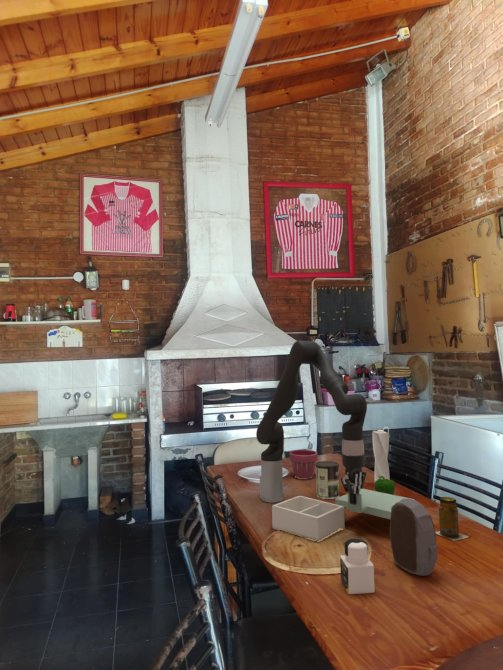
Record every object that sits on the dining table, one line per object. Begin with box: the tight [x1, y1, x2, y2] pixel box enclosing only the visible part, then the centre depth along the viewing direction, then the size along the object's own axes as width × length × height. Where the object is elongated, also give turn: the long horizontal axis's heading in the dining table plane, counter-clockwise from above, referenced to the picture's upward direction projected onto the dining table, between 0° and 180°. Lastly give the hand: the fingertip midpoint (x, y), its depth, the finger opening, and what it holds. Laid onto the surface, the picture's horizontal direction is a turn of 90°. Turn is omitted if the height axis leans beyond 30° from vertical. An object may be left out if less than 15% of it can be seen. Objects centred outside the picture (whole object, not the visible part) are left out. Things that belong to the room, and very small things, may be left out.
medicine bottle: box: [339, 538, 375, 595], centre depth 123 cm, size 7×7×12 cm
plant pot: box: [289, 449, 318, 478], centre depth 235 cm, size 14×14×13 cm
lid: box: [334, 488, 415, 520], centre depth 166 cm, size 22×23×8 cm
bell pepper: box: [374, 476, 396, 495], centre depth 197 cm, size 8×8×10 cm
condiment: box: [435, 496, 469, 542], centre depth 157 cm, size 7×8×12 cm
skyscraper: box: [372, 426, 391, 482], centre depth 215 cm, size 8×8×28 cm
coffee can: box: [315, 460, 341, 500], centre depth 203 cm, size 10×10×14 cm
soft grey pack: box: [389, 498, 438, 577], centre depth 132 cm, size 15×8×20 cm, turn 23°
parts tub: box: [271, 495, 346, 541], centre depth 165 cm, size 20×16×8 cm
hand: (354, 503), depth 158 cm, fingers closed on lid, 1 cm apart
